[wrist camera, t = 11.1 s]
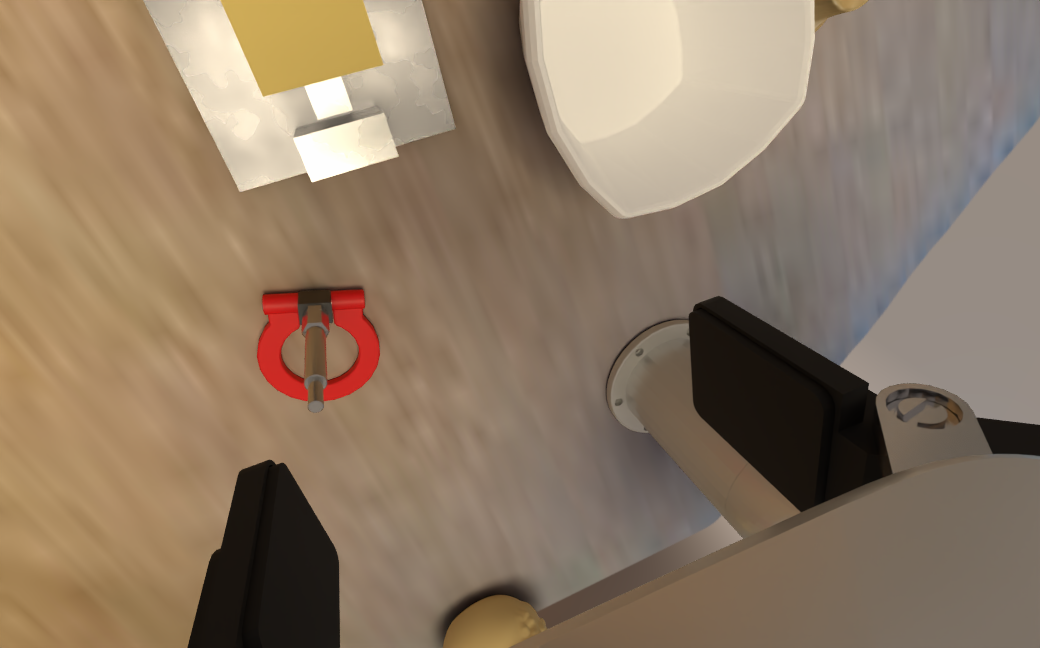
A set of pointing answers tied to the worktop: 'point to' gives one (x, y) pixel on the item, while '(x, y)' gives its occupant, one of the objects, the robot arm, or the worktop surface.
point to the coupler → (308, 95)
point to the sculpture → (494, 624)
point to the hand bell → (833, 9)
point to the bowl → (664, 90)
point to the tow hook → (316, 343)
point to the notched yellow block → (302, 40)
